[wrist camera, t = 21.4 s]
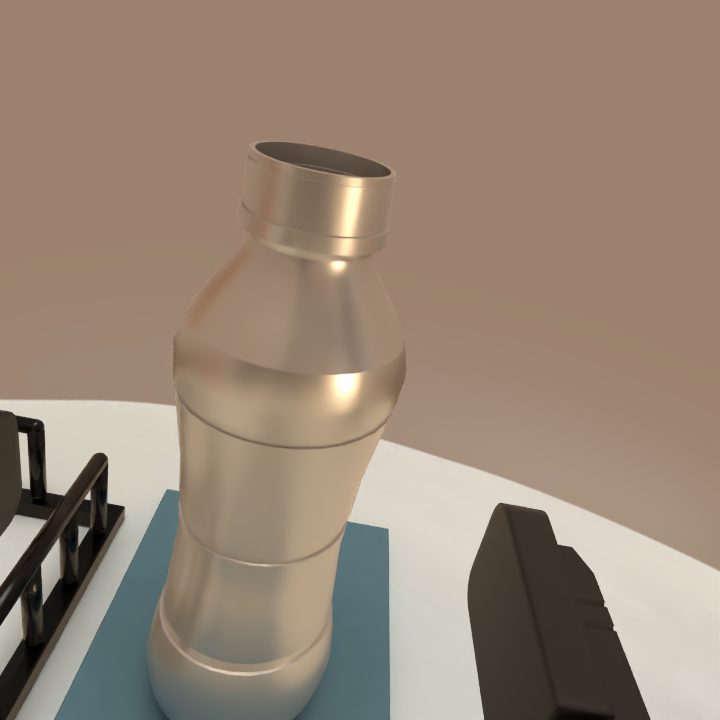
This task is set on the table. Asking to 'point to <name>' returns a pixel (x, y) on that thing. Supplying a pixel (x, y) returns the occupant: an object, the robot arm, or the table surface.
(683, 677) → the table surface
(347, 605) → the drying mat
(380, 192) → the beige bottle
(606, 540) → the table surface
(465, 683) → the table surface
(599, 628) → the robot arm
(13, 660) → the dish rack
